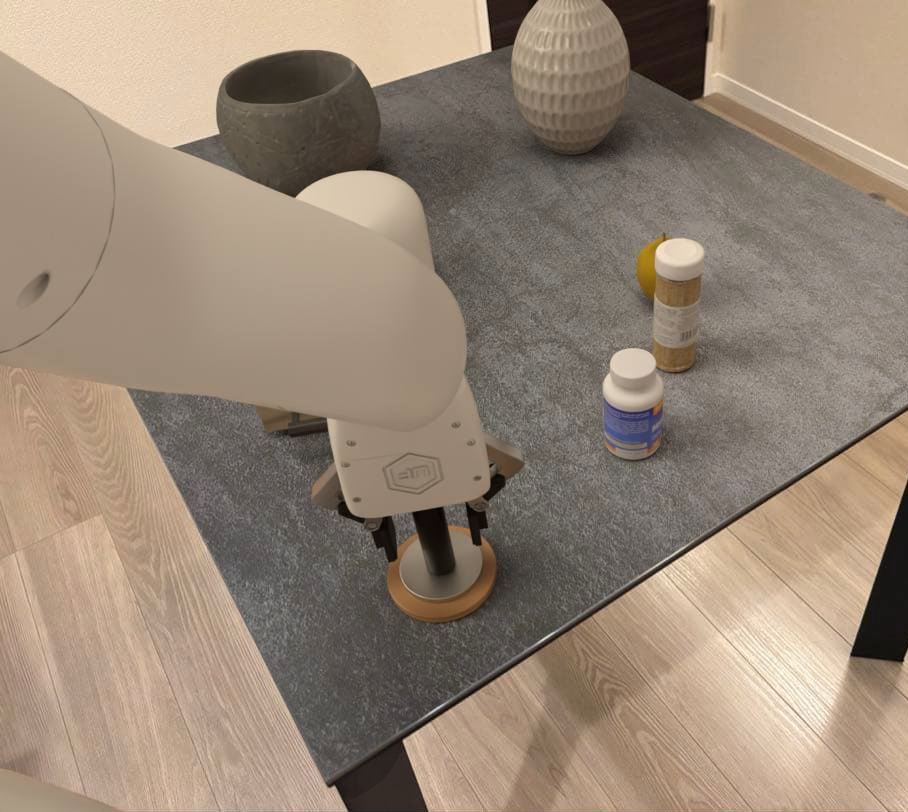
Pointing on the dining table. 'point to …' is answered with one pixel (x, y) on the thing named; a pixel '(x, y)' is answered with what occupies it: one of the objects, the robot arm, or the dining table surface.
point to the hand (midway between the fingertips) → (433, 538)
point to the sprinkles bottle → (677, 303)
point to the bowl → (298, 118)
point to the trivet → (447, 609)
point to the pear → (649, 267)
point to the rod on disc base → (439, 560)
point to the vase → (570, 73)
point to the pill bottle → (633, 405)
